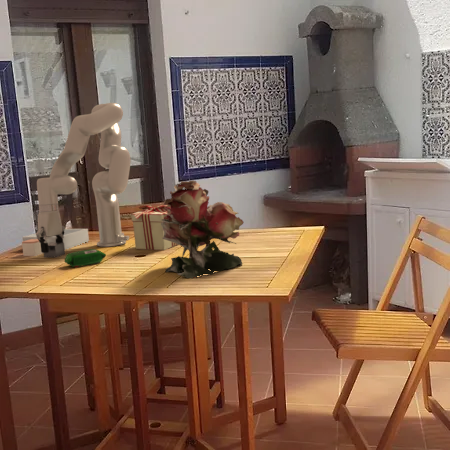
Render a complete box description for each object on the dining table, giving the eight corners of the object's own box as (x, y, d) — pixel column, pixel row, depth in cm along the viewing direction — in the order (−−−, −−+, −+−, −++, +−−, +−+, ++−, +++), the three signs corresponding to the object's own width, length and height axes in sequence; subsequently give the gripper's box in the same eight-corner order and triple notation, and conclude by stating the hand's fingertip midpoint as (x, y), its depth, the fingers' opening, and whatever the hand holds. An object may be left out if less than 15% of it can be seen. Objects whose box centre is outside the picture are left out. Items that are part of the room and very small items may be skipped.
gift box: (129, 251, 258) (125, 209, 256) (151, 242, 275) (148, 203, 272) (167, 251, 252) (163, 208, 249) (187, 242, 268) (184, 202, 266)
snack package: (109, 262, 240) (108, 248, 239) (68, 269, 232) (67, 255, 231) (103, 259, 246) (101, 246, 245) (63, 266, 238) (61, 252, 238)
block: (65, 254, 262) (63, 242, 261) (56, 257, 257) (55, 245, 256) (53, 254, 264) (51, 242, 264) (44, 257, 259) (42, 245, 258)
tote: (89, 241, 288) (87, 228, 287) (62, 251, 270) (60, 237, 269) (52, 241, 296) (51, 229, 295) (23, 250, 278) (22, 237, 277)
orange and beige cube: (44, 253, 269) (42, 239, 268) (35, 256, 263) (33, 241, 262) (32, 253, 271) (31, 239, 270) (23, 256, 265) (21, 241, 264)
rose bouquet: (254, 262, 222) (249, 175, 217) (192, 280, 201) (185, 185, 197) (203, 255, 240) (197, 175, 235) (142, 271, 219) (134, 184, 215)
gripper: (54, 205, 267) (58, 246, 269) (27, 211, 251) (31, 254, 253) (69, 205, 264) (73, 246, 266) (42, 211, 248) (46, 254, 250)
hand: (52, 250), depth 260 cm, fingers open, 9 cm apart
